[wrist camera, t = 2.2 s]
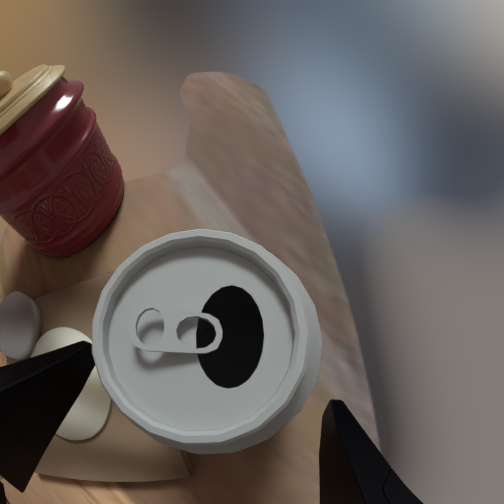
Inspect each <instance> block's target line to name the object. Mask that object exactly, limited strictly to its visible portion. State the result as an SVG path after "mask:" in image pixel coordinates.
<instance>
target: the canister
mask: <svg viewBox="0 0 504 504" xmlns="http://www.w3.org/2000/svg"><path fill="white" fill-rule="evenodd" d="M65 69H66V68H65V66H63V65H55V66H47V65H40V66H38V67H36V68H34V69H32V70H30V71H29V72H27V73H25V74H24V75H22V76H21V77H19V78H18V79H17V80H15V81H14V82H12V78H11V76H10V74H9V73H8V72H5V71H0V216H1V217H2V218H3V219H4V220H5V221H6V222H7V223H8V224H9V225H10V226H11V227H12V228H13V229H14V230H15V231H17V232H18V233H19V234H20V235H21V236H22V237H23V238H24V239H25V241H26V242H27V244H28V245H29V246H31V247H32V248H33V249H34V250H35V251H37V252H39V253H42V254H44V255H46V256H48V257H52V258H61V257H66V256H69V255H72V254H74V253H76V252H78V251H80V250H82V249H83V248H85V247H86V246H87V245H89V244H90V243H91V242H93V241H94V240H95V239H96V238H97V237H98V236H99V235H100V234H101V233H102V232H103V231H104V230H105V228H106V227H107V226H108V225H109V223H110V222H111V220H112V219H113V217H114V216H115V214H116V212H117V210H118V208H119V206H120V204H121V201H122V198H123V193H124V179H123V176H122V170H121V167H120V165H119V163H118V160H117V158H116V157H115V156H114V155H113V154H112V153H111V151H110V149H109V147H108V145H107V142H106V140H105V138H104V136H103V134H102V132H101V130H100V128H99V125H98V123H97V121H96V114H95V112H94V111H93V110H92V109H91V108H89V107H86V105H85V103H84V102H83V100H82V98H81V96H82V93H83V89H84V88H83V83H82V82H81V81H78V80H66V79H65V78H64V77H63V75H64V73H65Z"/></svg>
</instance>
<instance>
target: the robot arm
mask: <svg viewBox="0 0 504 504" xmlns="http://www.w3.org/2000/svg"><path fill="white" fill-rule="evenodd" d="M94 367H95V362H94V359H93V355H92V344H91V343H89V342H87V341H84V340H83V341H79V342H76V343H74V344H71V345H68V346H65V347H62V348H59V349H56V350H53V351H50V352H46V353H43V354H40V355H37V356H34V357H31V358H28V359H25V360H22V361H18V362H15V363H14V364H13V363H12V364H9V365H5V366H2V367H0V504H7V500H6V496H5V491H4V486H3V483H2V482H1V480H2V479H3V478H4V479H5V480H7V481H8V482H9V483H10V484H11V485H13V486H14V487H15V488H16V489H18V490H19V491H20V492H22V493H23V492H24V491H25V489H26V487H27V485H28V483H29V481H30V479H31V477H32V475H33V473H34V471H35V469H36V467H37V466H38V464H39V462H40V460H41V458H42V456H43V454H44V453H45V451H46V449H47V447H48V446H49V444H50V442H51V440H52V439H53V437H54V435H55V434H56V432H57V430H58V429H59V427H60V425H61V424H62V422H63V420H64V419H65V417H66V416H67V414H68V412H69V411H70V409H71V408H72V406H73V404H74V403H75V401H76V400H77V398H78V397H79V395H80V393H81V392H82V390H83V388H84V386H85V384H86V382H87V380H88V378H89V376H90V374H91V372H92V370H93V368H94ZM319 476H320V504H423V503H422V502H421V501H420V500H419V499H418V498H417V497H416V496H415V495H414V494H413V493H412V492H411V491H410V490H409V489H408V488H407V486H406V485H405V484H404V483H403V482H402V480H401V479H400V478H399V477H398V475H397V474H396V473H395V471H394V470H393V469H391V466H390V465H389V464H388V462H387V461H386V459H385V458H384V457H383V455H382V454H381V453H380V451H379V450H378V449H377V447H376V446H375V445H374V443H373V442H372V441H371V439H370V438H369V436H368V435H367V434H366V432H365V431H364V430H363V428H362V427H361V425H360V424H359V423H358V421H357V420H356V419H355V417H354V416H353V414H352V413H351V412H350V410H349V409H348V408H347V406H346V405H345V403H344V402H343V401H342V400H334V399H332V400H330V401H329V403H328V405H327V407H326V409H325V411H324V413H323V417H322V427H321V439H320V450H319Z"/></svg>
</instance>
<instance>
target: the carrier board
mask: <svg viewBox="0 0 504 504" xmlns="http://www.w3.org/2000/svg"><path fill="white" fill-rule="evenodd" d="M115 271H116V270H115ZM115 271H112V272H109V273H106V274H103V275H100V276H97V277H94V278H91V279H88V280H85V281H82V282H79V283H76V284H74V285H71V286H68V287H65V288H62V289H59V290H56V291H54V292H51V293H48V294H45V295H42V296H40V297H37V298H34V299H32V298H30V297H28V296H27V295H25V294H23V293H22V292H19V291H14V292H12V293H10V294H9V295H7V296H6V297H5V299H4V300H3V301H2V303H1V305H0V350H1V351H2V353H3V354H4V355H6V356H7V365H9V364H12V363H13V364H14V363H15V362H18V361H22V360H25V359H28V358H31V357H34V356H37V355H40V354H43V353H46V352H50V351H53V350H56V349H59V348H62V347H65V346H68V345H71V344H74V343H76V342H79V341H83V340H84V341H87V342H89V343H91V344H92V320H93V317H94V314H95V310H96V307H97V304H98V301H99V298H100V295H101V292H102V290H103V288H104V287H105V285H106V284H107V282H108V281H109V279H110V278H111V277H112V275H113V274H114V272H115ZM34 472H35V473H40V474H45V475H50V476H56V477H63V478H70V479H79V480H90V481H106V482H143V481H160V480H172V479H181V478H189V477H191V476H192V475H193V474H194V473H195V471H194V469H193V467H192V464H191V462H190V459H189V457H188V454H187V452H186V451H183V450H180V449H177V448H173V447H170V446H167V445H164V444H161V443H159V442H158V441H156V440H155V439H153V438H152V437H151V436H149V435H148V434H146V433H145V432H144V431H142V430H141V429H139V428H138V427H137V426H135V425H134V424H133V423H131V422H130V420H129V419H128V418H127V417H126V416H124V415H123V414H122V413H121V412H120V411H119V409H118V408H117V407H116V405H115V404H114V402H113V401H112V400H111V398H110V397H109V395H108V394H107V392H106V391H105V389H104V388H103V386H102V385H101V382H100V379H99V376H98V372H97V369H96V366H95V367H94V368H93V370H92V372H91V374H90V376H89V378H88V380H87V382H86V384H85V386H84V388H83V390H82V392H81V393H80V395H79V397H78V398H77V400H76V401H75V403H74V404H73V406H72V408H71V409H70V411H69V412H68V414H67V416H66V417H65V419H64V420H63V422H62V424H61V425H60V427H59V429H58V430H57V432H56V434H55V435H54V437H53V439H52V440H51V442H50V444H49V446H48V447H47V449H46V451H45V453H44V454H43V456H42V458H41V460H40V462H39V464H38V466H37V467H36V469H35V471H34Z"/></svg>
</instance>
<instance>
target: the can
mask: <svg viewBox="0 0 504 504" xmlns="http://www.w3.org/2000/svg"><path fill="white" fill-rule="evenodd" d="M321 348H322V337H321V332H320V327H319V322H318V318H317V313H316V309H315V305H314V303H313V302H312V300H311V298H310V297H309V295H308V293H307V292H306V290H305V288H304V287H303V285H302V283H301V282H300V280H299V278H298V276H297V275H296V274H294V273H293V272H292V271H291V270H290V269H289V268H288V267H287V266H285V265H284V264H283V263H282V262H281V261H280V260H279V259H277V258H276V257H275V256H274V255H273V254H272V253H269V252H268V251H267V250H265V249H264V248H263V247H262V246H260V245H258V244H256V243H254V242H251V241H249V240H247V239H245V238H242V237H240V236H238V235H236V234H234V233H229V232H222V231H214V230H207V229H196V230H189V231H182V232H176V233H170V234H168V235H165V236H163V237H161V238H159V239H157V240H154V241H152V242H150V243H148V244H146V245H143V246H142V247H141V248H139V249H138V250H137V251H136V252H134V253H133V254H132V255H131V256H130V257H129V258H127V259H126V260H125V261H124V262H123V263H121V264H120V265H119V266H118V268H117V269H116V271H115V272H114V274H113V275H112V277H111V278H110V279H109V281H108V282H107V284H106V285H105V287H104V288H103V290H102V292H101V295H100V298H99V301H98V304H97V307H96V310H95V314H94V317H93V320H92V355H93V359H94V362H95V366H96V369H97V372H98V376H99V379H100V382H101V385H102V386H103V388H104V389H105V391H106V392H107V394H108V395H109V397H110V398H111V400H112V401H113V402H114V404H115V405H116V407H117V408H118V409H119V411H120V412H121V413H122V414H123V415H124V416H126V417H127V418H128V419H129V420H130V422H131V423H133V424H134V425H135V426H137V427H138V428H139V429H141V430H142V431H144V432H145V433H146V434H148V435H149V436H151V437H152V438H153V439H155V440H156V441H158V442H159V443H161V444H164V445H167V446H170V447H173V448H177V449H180V450H183V451H187V452H191V453H194V454H220V453H235V452H238V451H241V450H243V449H246V448H248V447H251V446H253V445H256V444H258V443H260V442H263V441H265V440H267V439H269V438H272V437H273V436H274V435H275V434H276V433H277V432H279V431H280V430H281V429H282V428H283V427H284V426H285V425H286V424H287V423H288V422H289V421H291V420H292V419H293V418H294V417H295V416H296V415H297V414H298V413H299V412H300V411H301V409H302V407H303V405H304V403H305V401H306V400H307V398H308V396H309V394H310V392H311V390H312V388H313V386H314V384H315V382H316V380H317V378H318V371H319V364H320V356H321Z"/></svg>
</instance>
